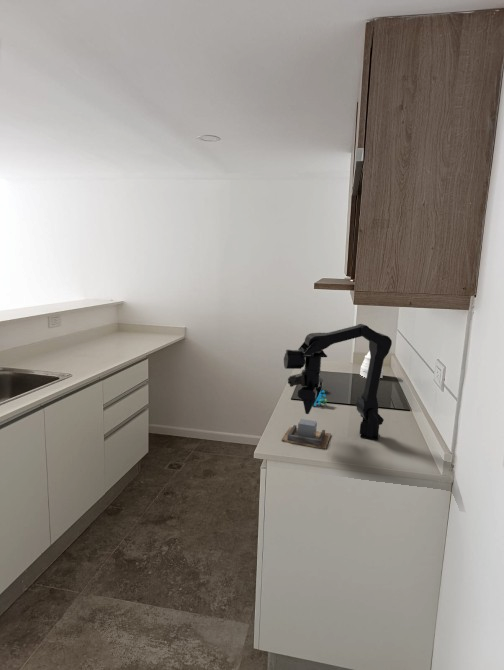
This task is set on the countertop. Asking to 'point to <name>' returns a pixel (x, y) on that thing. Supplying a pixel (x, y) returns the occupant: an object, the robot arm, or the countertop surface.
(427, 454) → the countertop surface
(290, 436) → the dock
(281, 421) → the countertop surface
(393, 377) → the countertop surface
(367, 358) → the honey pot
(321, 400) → the blue splash shape
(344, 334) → the robot arm
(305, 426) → the block
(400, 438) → the countertop surface
